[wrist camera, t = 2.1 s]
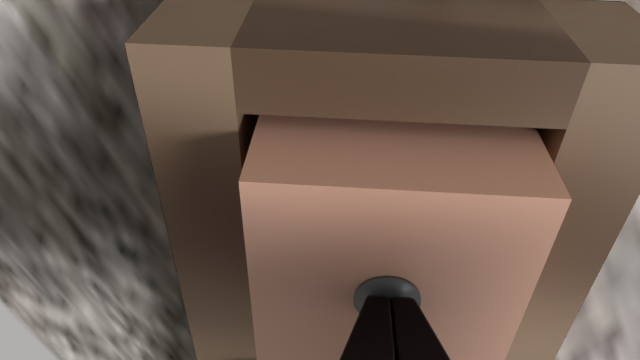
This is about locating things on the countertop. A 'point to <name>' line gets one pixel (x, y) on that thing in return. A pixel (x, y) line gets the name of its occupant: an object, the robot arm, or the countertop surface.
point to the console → (385, 105)
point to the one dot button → (394, 229)
